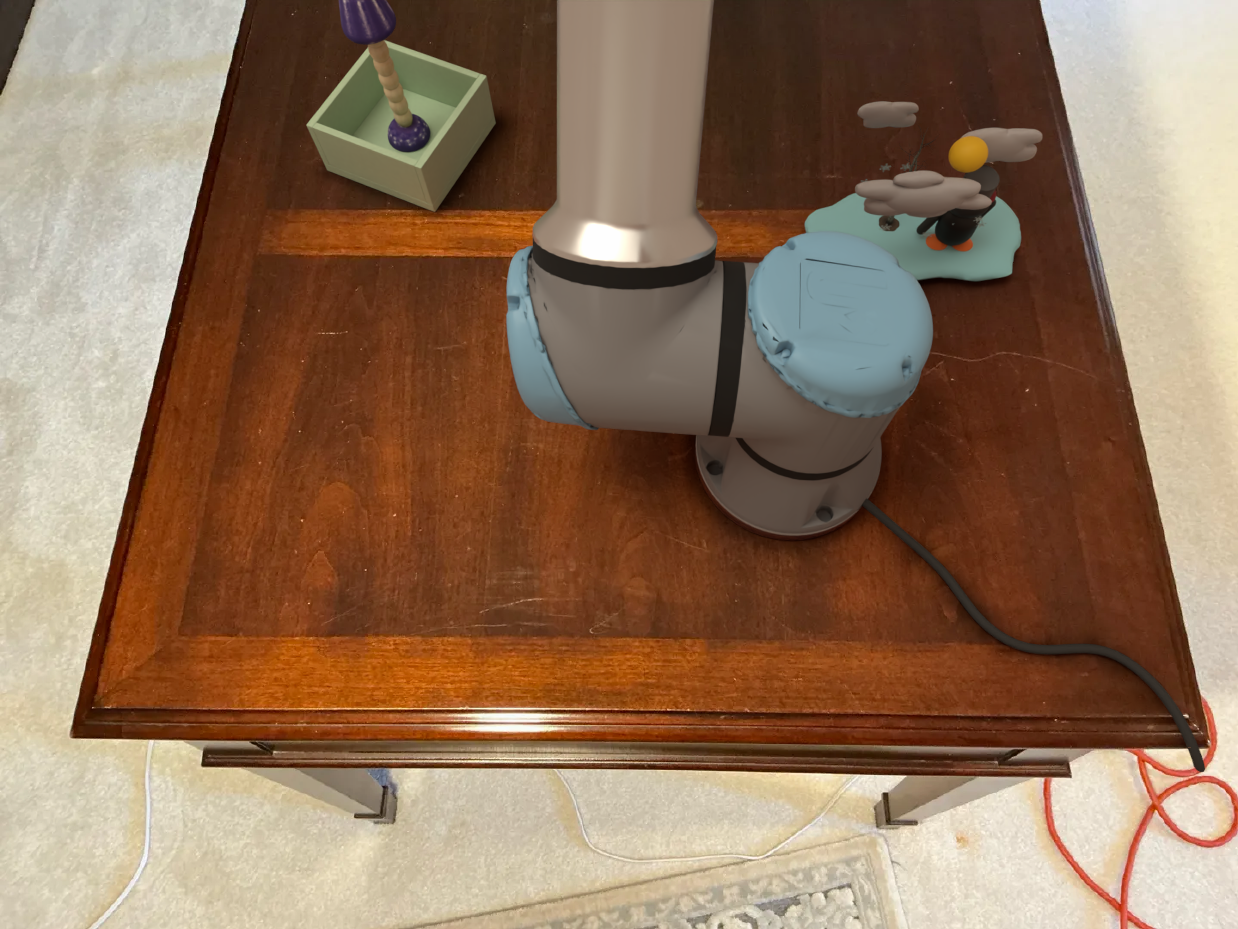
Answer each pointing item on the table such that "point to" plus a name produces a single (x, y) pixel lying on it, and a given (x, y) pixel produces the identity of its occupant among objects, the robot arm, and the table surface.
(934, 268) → the penguin figurine
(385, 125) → the tote
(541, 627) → the table surface
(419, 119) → the toy lamp
